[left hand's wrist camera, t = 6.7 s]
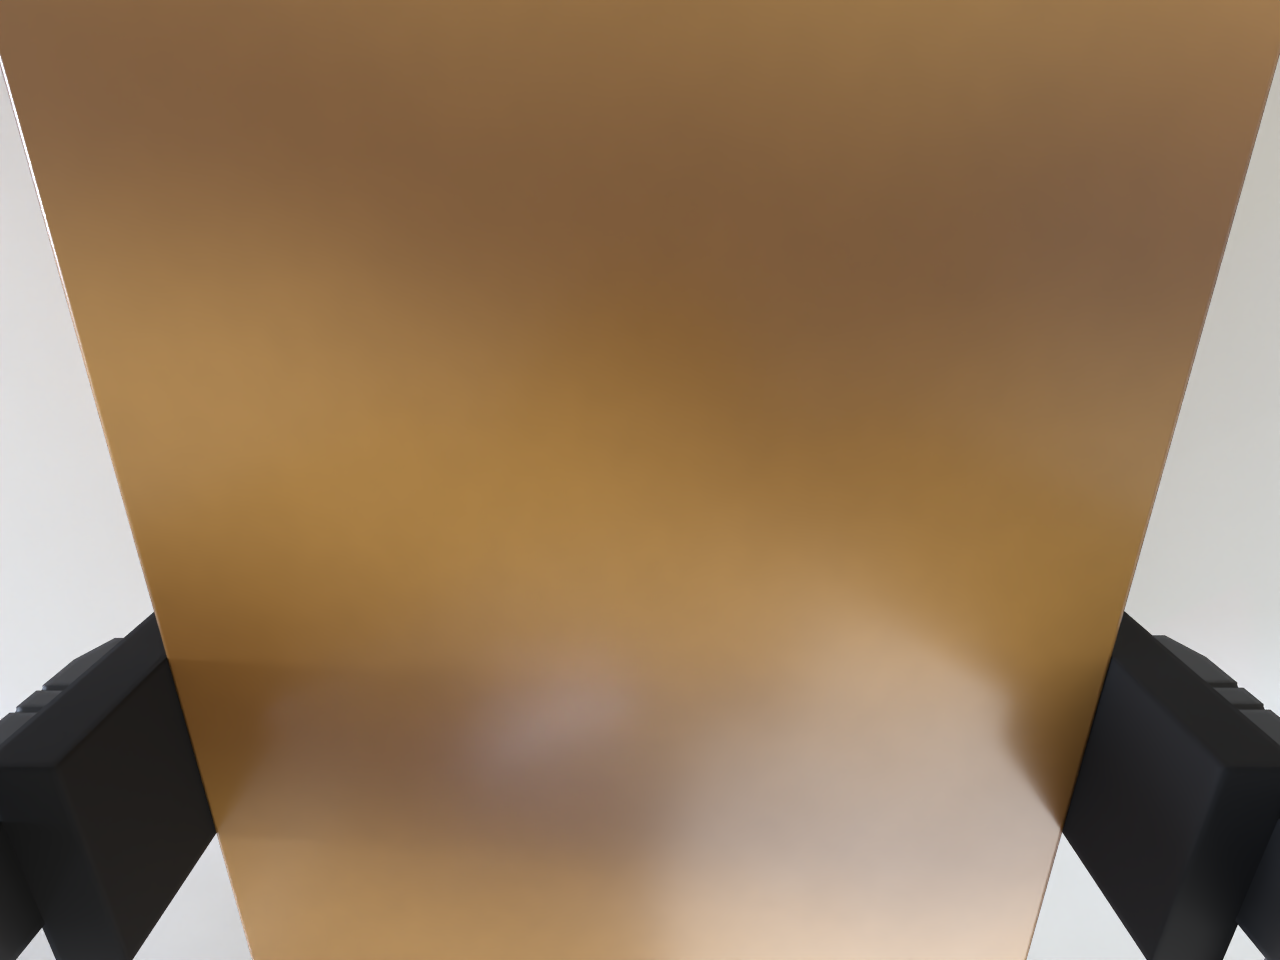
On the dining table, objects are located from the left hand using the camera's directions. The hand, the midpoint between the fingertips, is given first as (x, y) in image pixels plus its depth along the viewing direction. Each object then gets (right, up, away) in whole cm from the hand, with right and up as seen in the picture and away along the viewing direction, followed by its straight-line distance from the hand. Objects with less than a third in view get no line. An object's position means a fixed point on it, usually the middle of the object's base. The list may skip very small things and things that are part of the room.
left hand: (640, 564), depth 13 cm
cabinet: (0, +8, +2) cm, 8 cm away
